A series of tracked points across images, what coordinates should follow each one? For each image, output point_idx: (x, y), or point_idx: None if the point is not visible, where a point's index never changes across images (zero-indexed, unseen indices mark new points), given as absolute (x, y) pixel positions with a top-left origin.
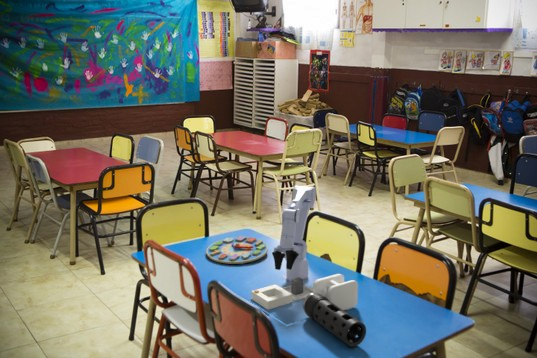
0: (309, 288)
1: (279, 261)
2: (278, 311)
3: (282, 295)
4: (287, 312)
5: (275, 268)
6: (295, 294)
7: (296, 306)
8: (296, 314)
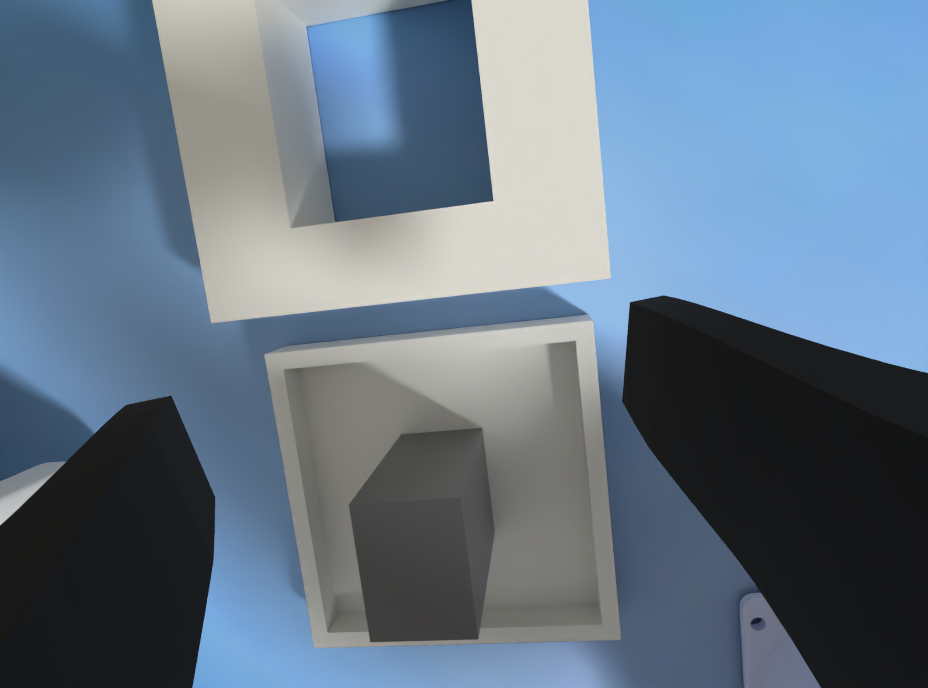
0: None
1: (775, 511)
2: (162, 77)
3: (230, 184)
4: (108, 156)
5: (663, 300)
6: (401, 436)
7: (194, 312)
8: (40, 219)
